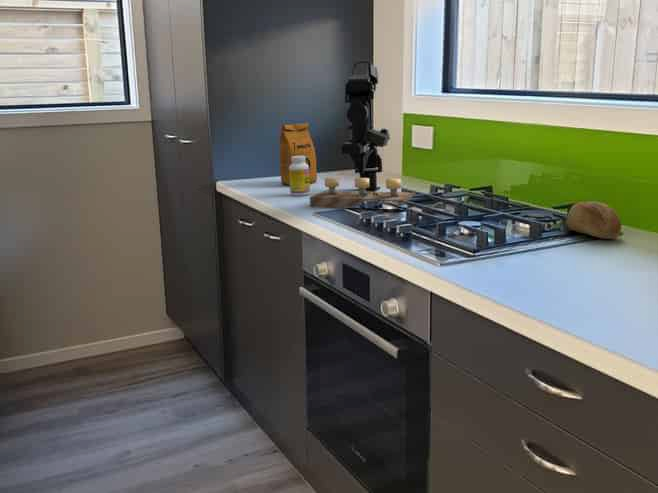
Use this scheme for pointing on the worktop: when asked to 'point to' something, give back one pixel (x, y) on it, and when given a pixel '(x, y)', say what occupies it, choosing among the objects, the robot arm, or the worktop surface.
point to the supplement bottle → (299, 177)
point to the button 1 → (332, 184)
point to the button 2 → (393, 186)
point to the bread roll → (594, 220)
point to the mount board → (354, 198)
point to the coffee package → (296, 150)
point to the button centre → (362, 185)
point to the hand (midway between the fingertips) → (361, 173)
